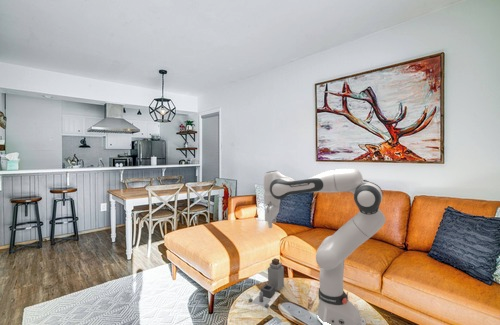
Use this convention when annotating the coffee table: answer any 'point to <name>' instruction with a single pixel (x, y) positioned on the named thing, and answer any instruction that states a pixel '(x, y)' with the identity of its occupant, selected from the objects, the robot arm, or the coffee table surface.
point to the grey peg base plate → (263, 299)
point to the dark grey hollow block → (268, 291)
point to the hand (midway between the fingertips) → (272, 225)
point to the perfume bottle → (276, 274)
